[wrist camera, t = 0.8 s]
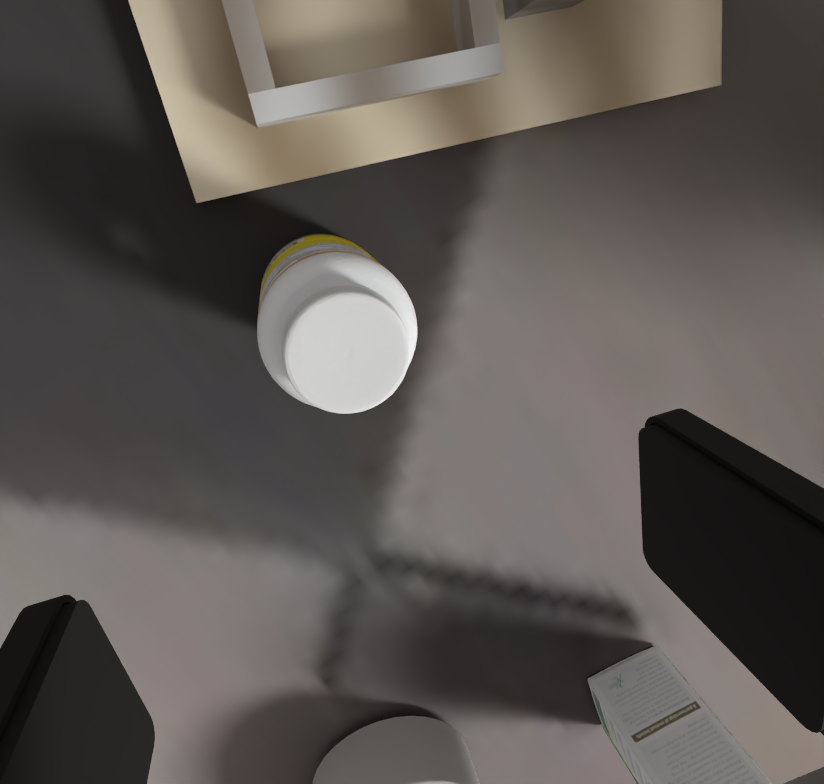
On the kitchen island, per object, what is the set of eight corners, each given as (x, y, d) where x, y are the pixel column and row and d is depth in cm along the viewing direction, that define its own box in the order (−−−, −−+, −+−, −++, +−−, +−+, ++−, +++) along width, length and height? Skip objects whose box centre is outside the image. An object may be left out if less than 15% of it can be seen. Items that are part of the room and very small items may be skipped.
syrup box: (583, 677, 40) (734, 924, 27) (658, 640, 41) (842, 866, 28) (601, 726, 43) (748, 975, 30) (672, 691, 43) (848, 921, 30)
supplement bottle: (374, 352, 29) (423, 440, 19) (258, 345, 27) (251, 437, 18) (387, 237, 27) (447, 274, 17) (263, 223, 25) (257, 255, 16)
